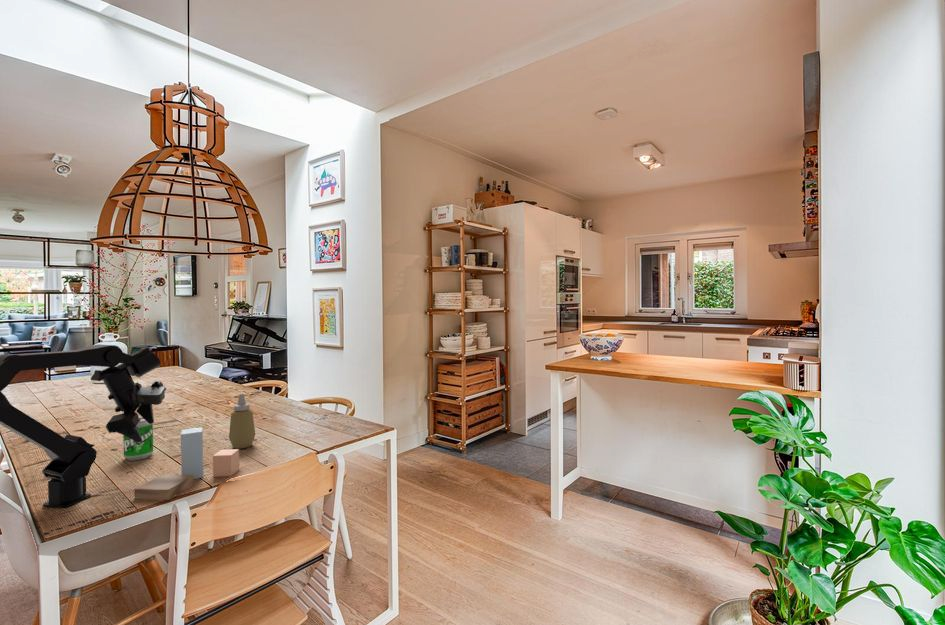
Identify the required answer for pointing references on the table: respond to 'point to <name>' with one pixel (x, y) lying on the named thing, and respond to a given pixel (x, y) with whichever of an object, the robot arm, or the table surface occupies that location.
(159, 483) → the walnut slab
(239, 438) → the squeeze bottle
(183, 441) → the blue pillar
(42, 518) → the table surface
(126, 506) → the table surface
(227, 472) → the terracotta block
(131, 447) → the soda can
